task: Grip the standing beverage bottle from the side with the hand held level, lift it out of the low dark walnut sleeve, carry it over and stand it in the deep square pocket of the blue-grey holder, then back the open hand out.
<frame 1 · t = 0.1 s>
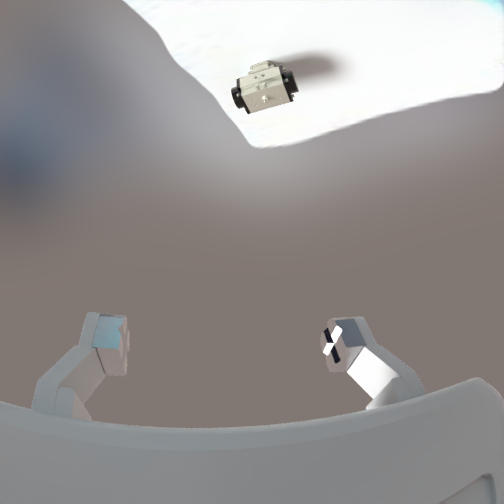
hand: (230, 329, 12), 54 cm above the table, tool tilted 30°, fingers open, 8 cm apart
pneumatic valve: (261, 66, 55), on the table
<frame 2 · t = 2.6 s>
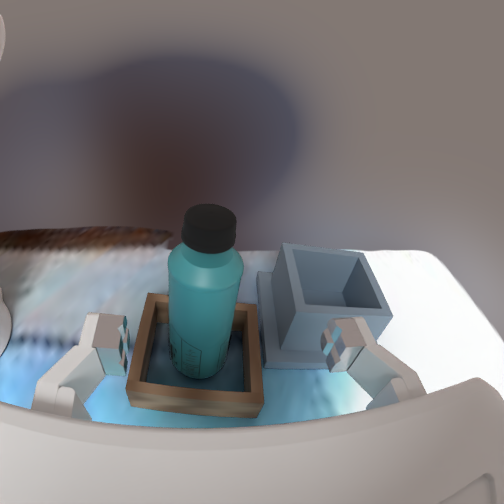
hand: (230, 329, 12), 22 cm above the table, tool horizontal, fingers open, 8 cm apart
walnut sleeve: (196, 363, 34), on the table
bottle holder: (315, 321, 43), on the table
beverage bottle: (196, 364, 35), resting in walnut sleeve
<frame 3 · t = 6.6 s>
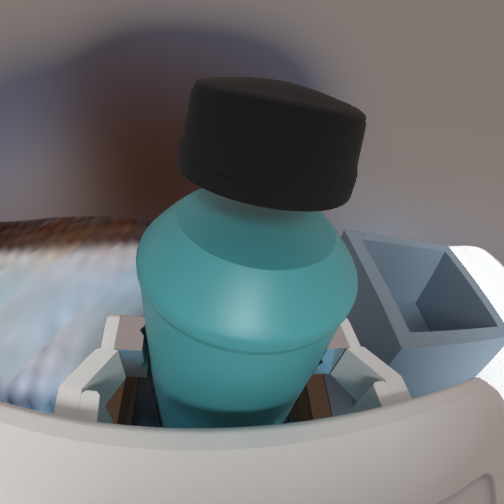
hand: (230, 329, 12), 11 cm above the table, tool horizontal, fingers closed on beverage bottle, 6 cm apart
walnut sleeve: (213, 440, 18), on the table
bottle holder: (388, 350, 26), on the table
beverage bottle: (213, 441, 18), resting in walnut sleeve, touching gripper
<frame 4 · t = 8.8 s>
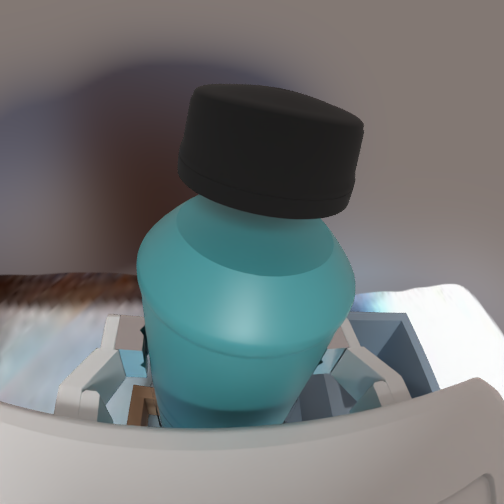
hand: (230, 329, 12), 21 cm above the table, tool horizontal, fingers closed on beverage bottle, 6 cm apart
walnut sleeve: (202, 469, 23), on the table
bottle holder: (345, 399, 32), on the table
beverage bottle: (212, 443, 18), point 9 cm above the table, touching gripper
when the fingers open (17 cm above the table, at t = 11.1 s): beverage bottle drops 5 cm, resting on bottle holder.
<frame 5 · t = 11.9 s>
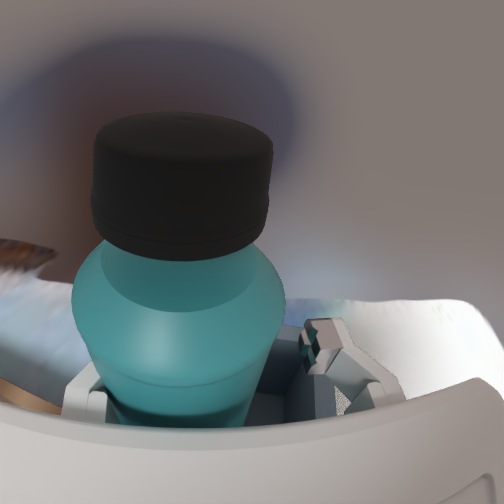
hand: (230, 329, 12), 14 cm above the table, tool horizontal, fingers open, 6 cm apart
bottle holder: (209, 450, 19), on the table
beverage bottle: (183, 448, 18), point 1 cm above the table, touching bottle holder
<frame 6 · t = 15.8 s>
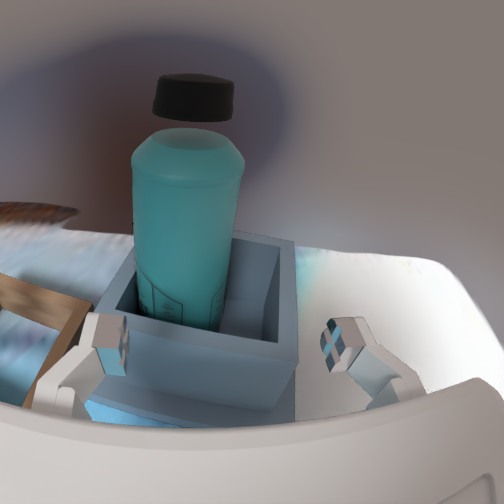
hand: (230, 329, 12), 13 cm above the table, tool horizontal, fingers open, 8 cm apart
walnut sleeve: (12, 366, 19), on the table
bottle holder: (201, 346, 27), on the table
beverage bottle: (180, 339, 25), point 1 cm above the table, touching bottle holder
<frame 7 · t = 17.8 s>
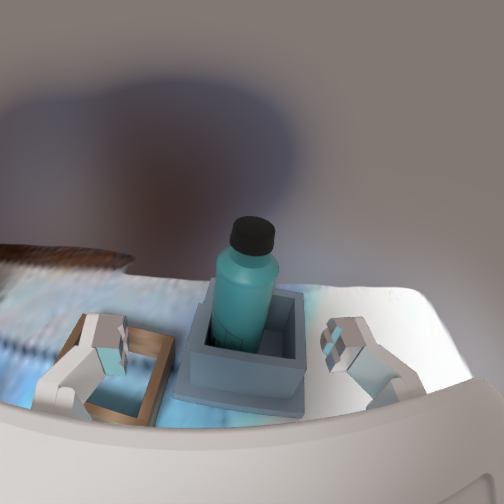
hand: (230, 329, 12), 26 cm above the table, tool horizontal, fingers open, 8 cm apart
walnut sleeve: (113, 382, 34), on the table
bottle holder: (243, 360, 41), on the table
beverage bottle: (231, 356, 40), point 1 cm above the table, touching bottle holder
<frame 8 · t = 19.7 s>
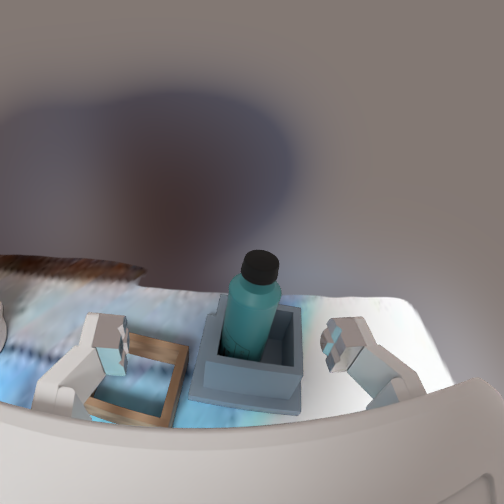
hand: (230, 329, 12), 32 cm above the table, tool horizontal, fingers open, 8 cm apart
walnut sleeve: (135, 386, 40), on the table
bottle holder: (248, 365, 47), on the table
beverage bottle: (237, 362, 46), point 1 cm above the table, touching bottle holder
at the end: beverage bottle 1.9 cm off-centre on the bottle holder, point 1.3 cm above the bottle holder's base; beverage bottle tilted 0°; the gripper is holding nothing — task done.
